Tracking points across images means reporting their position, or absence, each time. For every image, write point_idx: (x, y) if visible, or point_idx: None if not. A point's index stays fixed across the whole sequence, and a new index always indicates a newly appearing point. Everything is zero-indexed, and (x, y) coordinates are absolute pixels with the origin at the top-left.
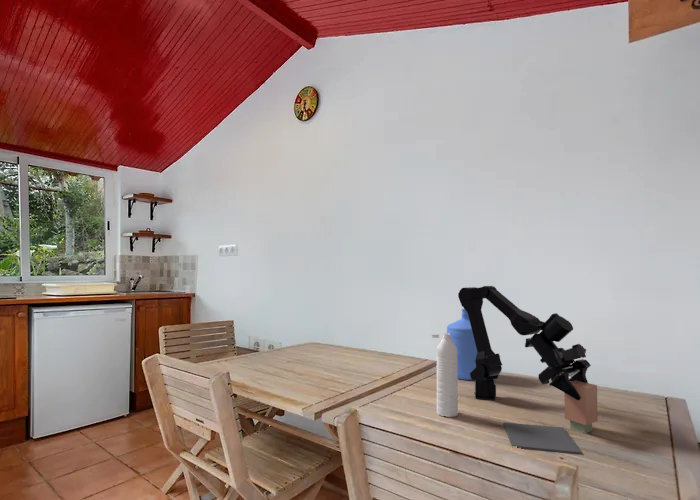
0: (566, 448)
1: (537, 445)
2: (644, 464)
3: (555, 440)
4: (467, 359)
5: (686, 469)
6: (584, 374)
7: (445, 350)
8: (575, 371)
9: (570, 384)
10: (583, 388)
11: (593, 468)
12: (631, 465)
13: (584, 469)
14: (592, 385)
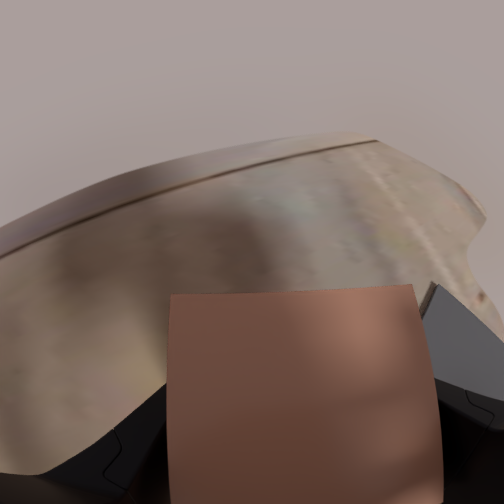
0: (457, 316)
1: (501, 357)
2: (333, 190)
3: (451, 369)
4: None
5: (268, 148)
6: (51, 487)
7: None
8: None
9: (477, 403)
10: (414, 306)
11: (450, 236)
12: (367, 202)
13: (467, 243)
14: (227, 318)
